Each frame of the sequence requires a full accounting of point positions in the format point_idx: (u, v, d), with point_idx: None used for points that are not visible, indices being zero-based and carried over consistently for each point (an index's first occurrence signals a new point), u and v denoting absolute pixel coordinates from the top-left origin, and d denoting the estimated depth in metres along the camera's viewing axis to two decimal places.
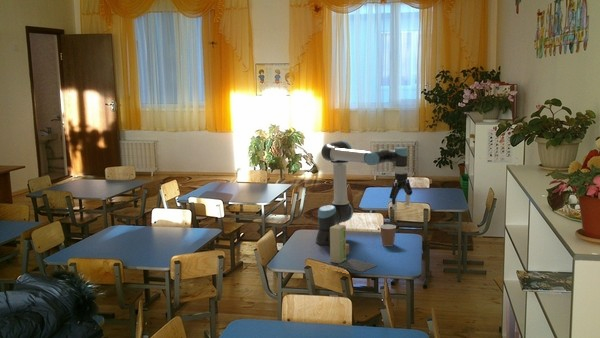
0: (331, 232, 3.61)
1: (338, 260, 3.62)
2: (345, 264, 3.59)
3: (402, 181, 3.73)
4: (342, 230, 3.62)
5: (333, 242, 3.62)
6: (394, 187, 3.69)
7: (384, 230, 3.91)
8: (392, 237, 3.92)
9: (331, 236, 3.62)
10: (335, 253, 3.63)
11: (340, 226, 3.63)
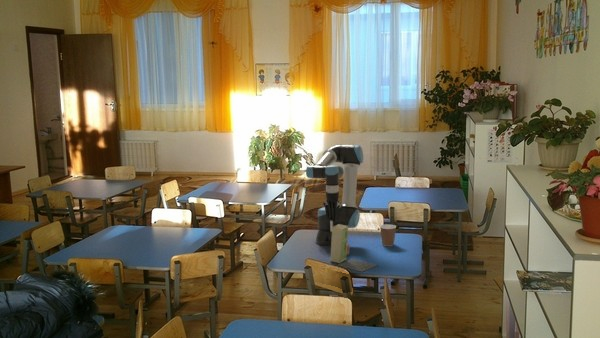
0: (333, 231, 3.60)
1: (338, 260, 3.62)
2: (345, 264, 3.59)
3: (330, 200, 3.62)
4: (344, 230, 3.61)
5: (335, 242, 3.61)
6: None
7: (384, 230, 3.91)
8: (392, 237, 3.92)
9: (333, 236, 3.61)
10: (335, 253, 3.62)
11: (342, 226, 3.62)
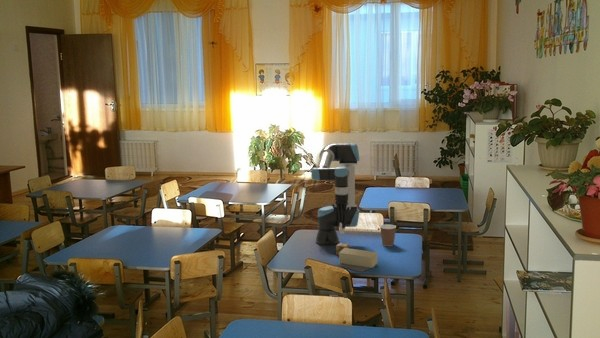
0: (367, 259, 3.51)
1: (341, 261, 3.60)
2: (345, 264, 3.59)
3: (340, 202, 3.58)
4: None
5: (357, 259, 3.54)
6: None
7: (384, 230, 3.91)
8: (392, 237, 3.92)
9: (363, 258, 3.52)
10: (347, 259, 3.58)
11: (375, 261, 3.54)
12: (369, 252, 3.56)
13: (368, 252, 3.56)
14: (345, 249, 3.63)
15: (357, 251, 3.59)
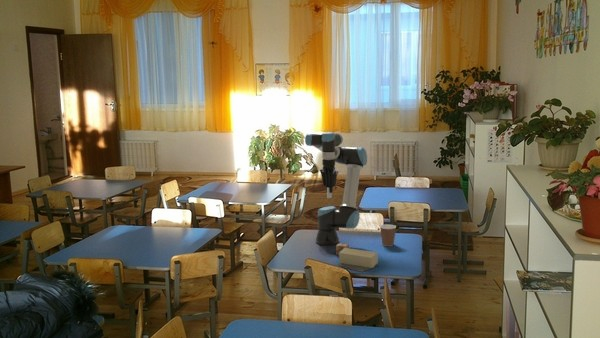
0: (367, 259, 3.51)
1: (341, 261, 3.60)
2: (345, 264, 3.59)
3: (327, 167, 3.65)
4: None
5: (357, 259, 3.54)
6: None
7: (384, 230, 3.91)
8: (392, 237, 3.92)
9: (363, 258, 3.52)
10: (347, 259, 3.58)
11: (375, 261, 3.54)
12: (369, 252, 3.56)
13: (368, 252, 3.56)
14: (345, 249, 3.63)
15: (357, 251, 3.59)
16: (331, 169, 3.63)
